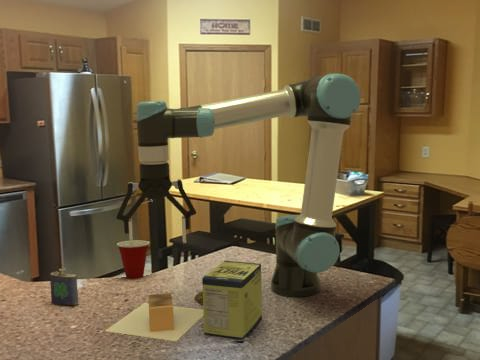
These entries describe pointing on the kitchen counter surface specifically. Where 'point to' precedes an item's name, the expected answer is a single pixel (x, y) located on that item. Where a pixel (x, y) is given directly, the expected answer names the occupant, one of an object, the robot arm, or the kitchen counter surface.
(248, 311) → the protein box
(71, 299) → the flask
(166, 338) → the cream board
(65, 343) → the kitchen counter surface
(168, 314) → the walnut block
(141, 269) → the plastic cup
